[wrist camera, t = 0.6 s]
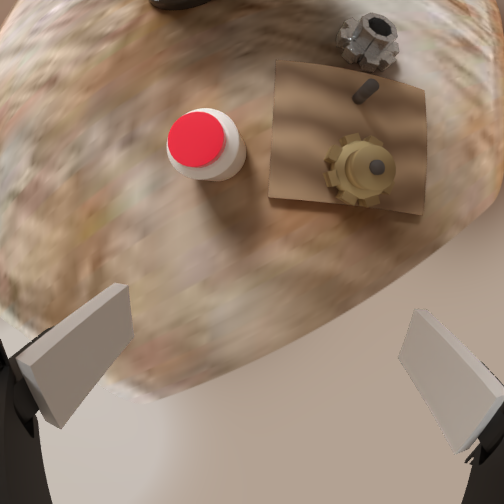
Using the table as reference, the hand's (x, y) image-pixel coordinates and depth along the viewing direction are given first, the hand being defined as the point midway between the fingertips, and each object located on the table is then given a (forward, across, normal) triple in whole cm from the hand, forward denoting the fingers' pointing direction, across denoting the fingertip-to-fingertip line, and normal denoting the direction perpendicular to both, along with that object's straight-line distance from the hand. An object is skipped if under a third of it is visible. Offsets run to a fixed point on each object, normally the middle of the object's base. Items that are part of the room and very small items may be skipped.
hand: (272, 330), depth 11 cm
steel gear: (+26, +12, +29) cm, 41 cm away
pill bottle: (+26, -8, +10) cm, 29 cm away
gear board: (+26, +10, +14) cm, 31 cm away
